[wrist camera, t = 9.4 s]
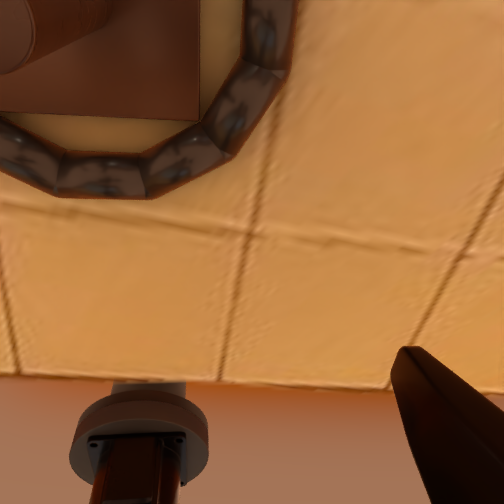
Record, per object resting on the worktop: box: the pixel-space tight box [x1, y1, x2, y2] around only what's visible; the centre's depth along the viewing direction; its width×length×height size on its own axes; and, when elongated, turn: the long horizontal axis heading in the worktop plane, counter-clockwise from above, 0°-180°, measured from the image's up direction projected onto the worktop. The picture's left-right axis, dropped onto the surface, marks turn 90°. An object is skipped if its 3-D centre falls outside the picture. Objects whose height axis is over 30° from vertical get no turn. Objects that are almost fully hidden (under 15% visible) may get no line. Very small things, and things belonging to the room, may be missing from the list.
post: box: [0, 0, 200, 121], centre depth 11 cm, size 8×8×9 cm
